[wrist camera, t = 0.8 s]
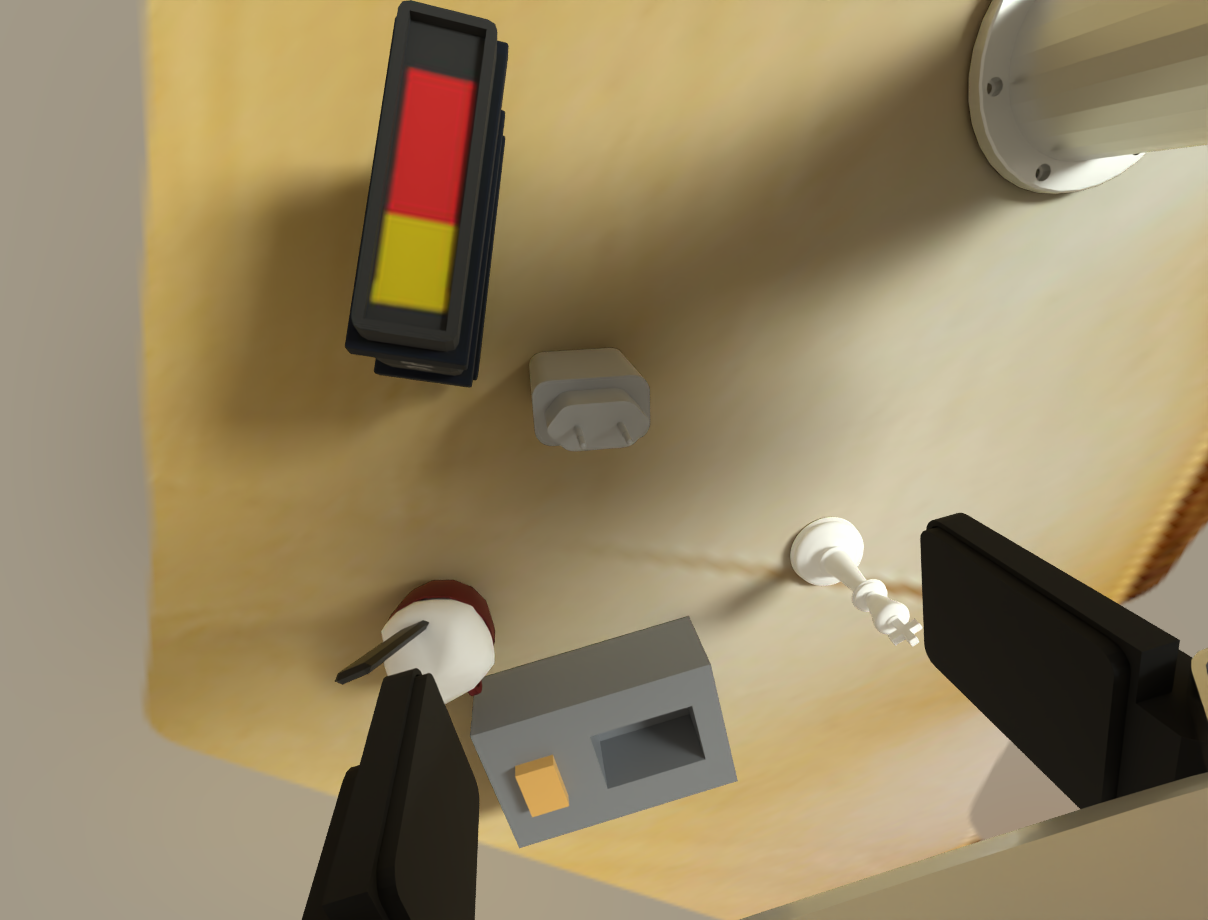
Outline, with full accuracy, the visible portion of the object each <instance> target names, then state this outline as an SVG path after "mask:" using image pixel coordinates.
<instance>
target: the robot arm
mask: <svg viewBox="0 0 1208 920" xmlns="http://www.w3.org/2000/svg"><path fill="white" fill-rule="evenodd" d="M968 101H969V108H970V115H971V121H972V126H973V129H974V132H975V135H976V138H977V141H978V144H979V146H980V148H981V150H982V151H983V153H984V155H985V156H986V158H987V160H988V161H989V163H990V164H991V165H992V166H993V167H994V168H995V169H996V170H997V171H998V172H999V173H1000V175H1001V176H1002V177H1003V178H1005V179H1007V180H1008V181H1010V182H1012V183H1013V184H1015V185H1016V186H1018V187H1020V188H1023V189H1027V190H1030V191H1033V192H1036V193H1052V194H1058V193H1068V192H1078V191H1082V190H1085V189H1089V188H1093V187H1096V186H1099V185H1101V184H1103V183H1105V182H1107V181H1109V180H1111V179H1113V178H1115V177H1117V176H1119V175H1120V174H1121V173H1123V172H1124V171H1126V170H1127V169H1128V168H1130V167H1131V166H1133V165H1134V164H1135V163H1137V162H1138V161H1139V160H1140V159H1141V158H1142V157H1143V156H1144V155H1145V154H1146V153H1147V152H1153V151H1161V150H1169V149H1177V148H1185V147H1193V146H1201V145H1208V0H992V2H991V4H990V6H989V8H988V10H987V12H986V14H985V16H984V18H983V20H982V23H981V26H980V29H979V33H978V36H977V39H976V42H975V45H974V48H973V54H972V60H971V66H970V71H969V97H968ZM920 543H921V569H922V596H923V622H924V645H925V650H926V653H927V655H928V657H929V659H930V661H931V662H932V663H933V665H934V666H935V667H936V668H937V669H938V670H939V671H940V672H941V673H942V674H943V675H944V676H945V677H946V678H947V679H948V680H949V681H951V682H952V683H953V684H954V685H955V686H956V687H957V688H958V689H959V690H960V691H961V692H962V693H963V694H964V695H965V696H966V697H967V698H968V699H969V700H970V701H971V702H972V703H973V704H974V705H975V706H976V707H977V708H978V709H979V710H980V711H981V712H982V713H983V714H984V715H985V716H986V717H987V718H988V719H989V720H990V721H991V722H992V723H993V724H994V725H995V726H996V727H997V728H998V729H999V730H1000V731H1001V732H1002V733H1003V734H1004V735H1005V736H1006V737H1007V738H1009V739H1010V740H1011V741H1012V742H1013V743H1014V744H1015V745H1016V746H1017V747H1018V748H1019V749H1020V750H1021V751H1022V752H1023V753H1024V754H1025V755H1026V756H1027V757H1028V758H1029V759H1030V760H1031V761H1032V762H1033V763H1034V764H1035V765H1036V766H1037V767H1038V768H1039V769H1040V770H1041V771H1042V772H1043V773H1044V774H1045V775H1046V776H1047V777H1048V778H1049V779H1050V780H1051V781H1052V782H1053V783H1055V785H1056V786H1057V787H1058V788H1060V790H1061V791H1063V793H1064V794H1066V795H1067V796H1068V797H1069V798H1070V799H1071V800H1072V801H1073V802H1074V803H1075V804H1076V805H1077V806H1078V807H1079V808H1080V810H1077V811H1074V812H1071V813H1068V814H1065V815H1062V816H1058V817H1055V818H1052V819H1049V820H1046V821H1043V822H1040V823H1036V824H1033V825H1030V826H1027V827H1024V828H1021V829H1018V830H1015V831H1011V832H1009V833H1005V834H1002V835H999V836H996V837H993V838H989V839H986V840H983V841H980V842H977V843H974V844H971V845H967V846H964V847H961V848H958V849H955V850H952V851H949V852H946V853H942V854H939V855H936V856H933V857H930V858H927V859H924V860H921V861H918V862H915V863H912V864H909V865H906V866H902V867H899V868H896V869H893V870H890V871H887V872H884V873H881V874H878V875H875V876H872V877H869V878H865V879H862V880H859V881H856V882H853V883H850V884H847V885H844V886H841V887H838V888H835V889H832V890H829V891H826V892H823V893H820V894H816V895H813V896H810V897H807V898H804V899H801V900H798V901H795V902H792V903H789V904H786V905H783V906H780V907H777V908H774V909H771V910H767V911H764V912H761V913H758V914H755V915H752V916H749V917H746V918H743V919H740V920H1208V648H1206V649H1204V650H1201V651H1199V652H1197V654H1196V655H1195V656H1194V658H1192V657H1190V656H1189V655H1187V654H1185V653H1184V652H1182V651H1180V650H1179V642H1180V640H1178V639H1177V638H1175V637H1174V636H1172V635H1170V634H1168V633H1167V632H1165V631H1163V630H1162V629H1160V628H1158V627H1157V626H1155V625H1153V624H1151V623H1149V622H1148V621H1146V620H1145V619H1143V618H1141V617H1140V616H1138V615H1136V614H1134V613H1133V612H1131V611H1129V610H1128V609H1126V608H1124V607H1123V606H1121V605H1119V604H1117V603H1116V602H1114V601H1112V600H1111V599H1109V598H1107V597H1106V596H1104V595H1102V594H1101V593H1099V592H1097V591H1095V590H1094V589H1092V588H1090V587H1089V586H1087V585H1085V584H1084V583H1082V582H1080V581H1078V580H1077V579H1075V578H1073V577H1072V576H1070V575H1068V574H1067V573H1065V572H1063V571H1061V570H1060V569H1058V568H1056V567H1055V566H1053V565H1051V564H1050V563H1048V562H1046V561H1044V560H1043V559H1041V558H1039V557H1038V556H1036V555H1034V554H1033V553H1031V552H1029V551H1028V550H1026V549H1024V548H1022V547H1021V546H1019V545H1017V544H1016V543H1014V542H1012V541H1011V540H1009V539H1007V538H1005V537H1004V536H1002V535H1000V534H999V533H997V532H995V531H994V530H992V529H990V528H988V527H987V526H985V525H983V524H982V523H980V522H978V521H977V520H975V519H973V518H972V517H970V516H968V515H966V514H964V513H956V514H953V515H949V516H946V517H942V518H939V519H935V520H932V521H930V522H929V523H928V525H927V529H926V531H923V532H922V534H921V538H920ZM478 825H479V792H478V787H477V783H476V780H475V777H474V775H473V772H472V770H471V767H470V765H469V763H468V760H467V758H466V755H465V753H464V750H463V748H462V745H461V743H460V740H459V738H458V736H457V733H456V731H455V728H454V726H453V723H452V721H451V718H450V716H449V713H448V711H447V709H446V706H445V704H444V701H443V699H442V696H441V694H440V691H439V689H438V686H437V684H436V682H435V679H434V677H433V675H432V674H431V673H427V674H423V675H422V673H421V671H420V670H419V669H418V668H414V669H411V670H407V671H404V672H400V673H397V674H393V675H390V676H386V677H385V678H384V679H383V682H382V685H381V689H380V692H379V696H378V700H377V703H376V707H375V711H374V714H373V718H372V722H371V725H370V729H369V733H368V736H367V740H366V744H365V747H364V751H363V755H362V758H361V762H360V765H358V766H355V767H351V768H350V769H349V770H348V771H347V772H346V775H345V777H344V779H343V782H342V785H341V789H340V792H339V795H338V799H337V802H336V806H335V809H334V813H333V816H332V819H331V823H330V826H329V829H328V833H327V836H326V840H325V843H324V846H323V850H322V853H321V856H320V860H319V863H318V867H317V870H316V873H315V877H314V880H313V883H312V887H311V890H310V894H309V897H308V900H307V904H306V907H305V911H304V914H303V917H302V920H475V898H476V896H475V895H476V873H477V849H478Z"/></svg>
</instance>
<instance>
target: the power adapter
mask: <svg viewBox="0 0 1208 920" xmlns="http://www.w3.org/2000/svg"><path fill="white" fill-rule="evenodd" d="M529 371H530V383H531V395H532V406H533V417H534V428H535V434H536V437H537V439H538V440H539V441H540V442H541V443H543V444H544V445H548V446H560V445H561V446H562V447H563V448H565V449H566V450H569V451H586V450H598V449H610V448H623V447H628V446H630V445H633V444H634V443H635V442H636V441H637V440H638V439H639V438H641V437H643V436H644V435H645V434H646V433H647V431H648V430H649V427H650V388H649V385H648V383H647V381H646V380H645V379H644V378H643V377H642V376H641V374H640V373H639V372H638V371H637V370H636V369H635V368H634V366H633V365H632V364H631V363H630V362H629V361H628V360H627V358H626V357H625V356H624V355H623V354H622V353H621V352H620V351H619V350H618V349H615V348H598V349H582V350H566V351H550V352H540V353H537V354H535V355H534V356H533V357H532V358H531V360H530V363H529Z"/></svg>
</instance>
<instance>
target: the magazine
mask: <svg viewBox="0 0 1208 920" xmlns="http://www.w3.org/2000/svg"><path fill="white" fill-rule="evenodd" d="M507 61H508V44H507V43H505V42H501V41H497V29H496V26H495V24H494V23H492V22H491V21H489V20H488V19H484V18H480V17H476V16H472V15H468V14H464V13H460V12H456V11H452V10H448V9H444V8H440V7H435V6H431V5H427V4H423V3H419V2H415V1H411V0H410V1H402V3H401V4H400V6H399V7H398V12H397V16H396V18H395V23H394V29H393V36H392V42H391V49H390V55H389V62H388V68H387V75H386V81H385V88H384V94H383V101H382V107H381V114H380V120H379V127H378V133H377V140H376V146H375V153H374V159H373V166H372V173H371V179H370V186H369V192H368V199H367V205H366V212H365V218H364V225H363V231H362V238H361V244H360V251H359V257H358V264H357V270H356V277H355V283H354V290H353V296H352V303H351V309H350V316H349V322H348V329H347V335H346V342H345V348H346V349H347V350H348V351H349V353H351V354H356V355H363V356H370V357H375V358H376V360H375V368H374V372H375V373H376V374H379V375H384V376H391V377H398V378H405V379H413V380H420V381H427V382H434V383H441V384H448V385H455V386H463V387H472V382H473V380H477V377H478V371H479V363H480V354H481V345H482V337H483V328H484V319H485V311H486V302H487V293H488V285H489V276H490V267H491V259H492V250H493V241H494V233H495V224H496V215H497V207H498V198H499V189H500V181H501V172H502V163H503V155H504V146H505V136H503V129H504V121H505V111H503V110H501V107H502V100H503V92H504V84H505V76H506V69H507Z"/></svg>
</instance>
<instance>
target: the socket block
mask: <svg viewBox="0 0 1208 920" xmlns="http://www.w3.org/2000/svg"><path fill="white" fill-rule="evenodd" d="M470 737H471V740H472V742H473V744H474V746H475V749H476V751H477V753H478V755H479V758H480V760H481V762H482V764H483V767H484V769H485V771H486V774H487V776H488V778H489V780H490V783H491V785H492V787H493V789H494V792H495V794H496V796H497V798H498V801H499V803H500V805H501V808H502V810H503V812H504V814H505V817H506V819H507V821H508V823H509V826H510V828H511V830H512V832H513V835H514V837H515V839H516V841H517V844H518V846H519V848H521V847H525V846H528V845H531V844H534V843H538V842H541V841H544V840H547V839H551V838H554V837H557V836H560V835H564V834H567V833H570V832H573V831H577V830H580V829H583V828H586V827H590V826H593V825H596V824H599V823H603V822H606V821H609V820H612V819H616V818H619V817H622V816H625V815H629V814H632V813H635V812H638V811H642V810H645V809H648V808H651V807H655V806H658V805H661V804H664V803H668V802H671V801H674V800H677V799H680V798H684V797H687V796H690V795H693V794H697V793H700V792H703V791H706V790H710V789H713V788H716V787H719V786H723V785H726V784H729V783H732V782H736V781H738V780H737V776H736V772H735V767H734V763H733V759H732V755H731V750H730V746H729V742H728V737H727V733H726V729H725V724H724V720H723V716H722V711H721V707H720V703H719V698H718V694H717V690H716V685H715V681H714V677H713V672H712V668H711V664H710V662H709V659H708V657H707V655H706V653H705V651H704V648H703V646H702V644H701V642H700V639H699V637H698V635H697V633H696V631H695V628H694V626H693V624H692V622H691V620H690V617H689V616H687V617H684V618H681V619H677V620H674V621H671V622H667V623H664V624H661V625H657V626H654V627H650V628H647V629H644V630H640V631H637V632H634V633H630V634H627V635H624V636H620V637H617V638H613V639H610V640H607V641H603V642H600V643H597V644H593V645H590V646H587V647H583V648H580V649H576V650H573V651H570V652H566V653H563V654H560V655H556V656H553V657H550V658H546V659H543V660H539V661H536V662H533V663H529V664H526V665H523V666H519V667H516V668H512V669H509V670H506V671H502V672H499V673H496V674H492V675H489V676H486V677H483V679H482V691H481V693H480V694H478V695H475V696H474V699H473V710H472V721H471V732H470Z"/></svg>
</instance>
